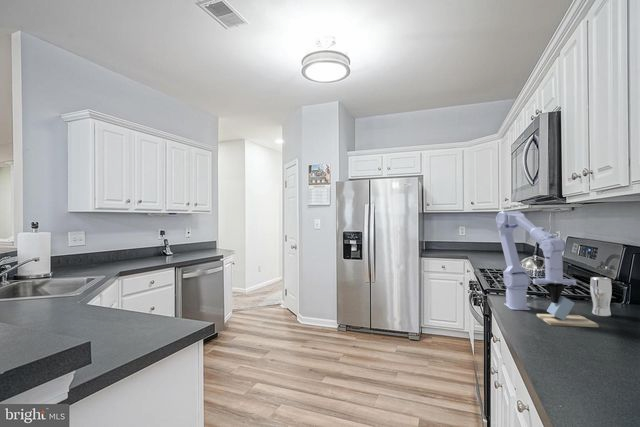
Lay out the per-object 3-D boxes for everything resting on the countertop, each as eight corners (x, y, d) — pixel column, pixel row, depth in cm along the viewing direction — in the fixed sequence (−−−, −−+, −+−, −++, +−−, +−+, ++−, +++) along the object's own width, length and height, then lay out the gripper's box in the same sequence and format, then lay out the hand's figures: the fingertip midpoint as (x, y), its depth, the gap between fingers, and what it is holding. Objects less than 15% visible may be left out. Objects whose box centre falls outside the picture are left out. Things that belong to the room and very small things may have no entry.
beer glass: (589, 311, 144) (588, 276, 144) (610, 313, 141) (609, 277, 141) (592, 315, 138) (591, 279, 138) (614, 317, 135) (613, 280, 135)
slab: (546, 310, 135) (556, 293, 135) (556, 316, 135) (566, 299, 134) (553, 315, 129) (564, 297, 129) (563, 320, 129) (575, 302, 128)
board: (536, 316, 139) (536, 313, 139) (580, 317, 136) (579, 315, 136) (550, 325, 127) (550, 322, 127) (598, 327, 124) (598, 324, 124)
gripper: (538, 269, 130) (539, 304, 129) (580, 270, 127) (581, 305, 127) (530, 267, 137) (531, 300, 136) (570, 267, 134) (571, 301, 134)
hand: (554, 302), depth 132 cm, fingers closed
